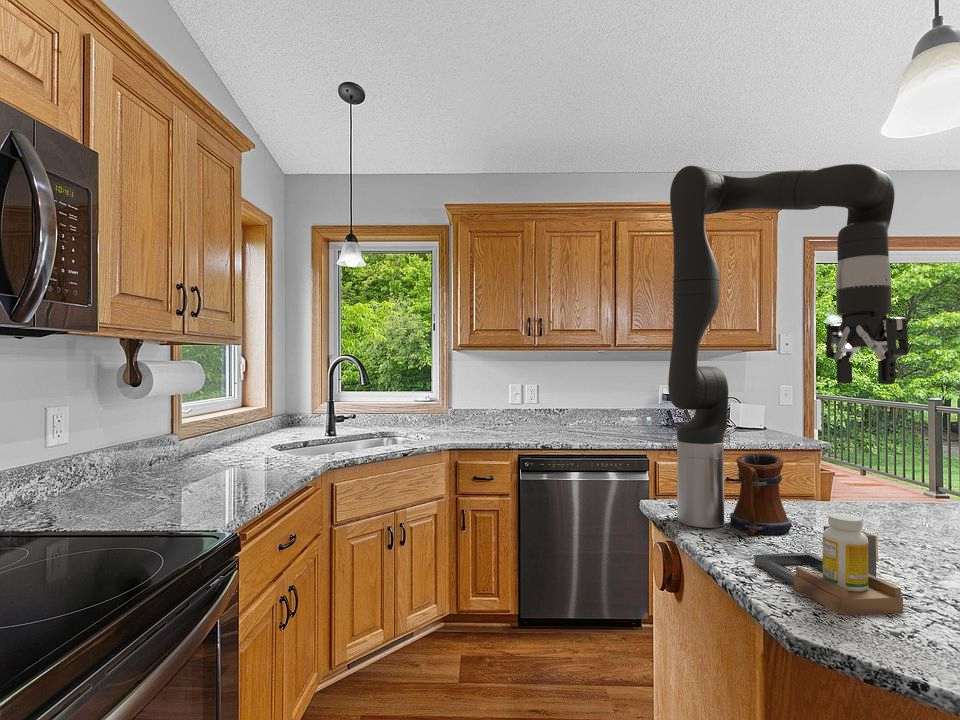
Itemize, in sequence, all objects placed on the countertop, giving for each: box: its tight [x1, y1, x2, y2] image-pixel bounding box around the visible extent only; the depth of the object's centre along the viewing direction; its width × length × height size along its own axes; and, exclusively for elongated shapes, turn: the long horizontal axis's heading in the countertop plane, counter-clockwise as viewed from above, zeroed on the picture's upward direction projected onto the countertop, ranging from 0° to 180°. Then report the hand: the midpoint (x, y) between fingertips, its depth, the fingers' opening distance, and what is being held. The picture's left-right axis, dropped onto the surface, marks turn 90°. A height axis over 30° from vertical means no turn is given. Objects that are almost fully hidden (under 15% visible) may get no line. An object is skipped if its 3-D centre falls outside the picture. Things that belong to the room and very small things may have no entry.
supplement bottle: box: [822, 512, 868, 592], centre depth 77 cm, size 5×5×10 cm
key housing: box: [823, 525, 877, 577], centre depth 88 cm, size 6×4×6 cm, turn 6°
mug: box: [729, 452, 792, 537], centre depth 111 cm, size 18×12×15 cm, turn 141°
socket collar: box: [753, 552, 823, 587], centre depth 87 cm, size 10×10×2 cm
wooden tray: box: [793, 566, 904, 617], centre depth 77 cm, size 9×9×3 cm
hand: (864, 383), depth 91 cm, fingers open, 8 cm apart
